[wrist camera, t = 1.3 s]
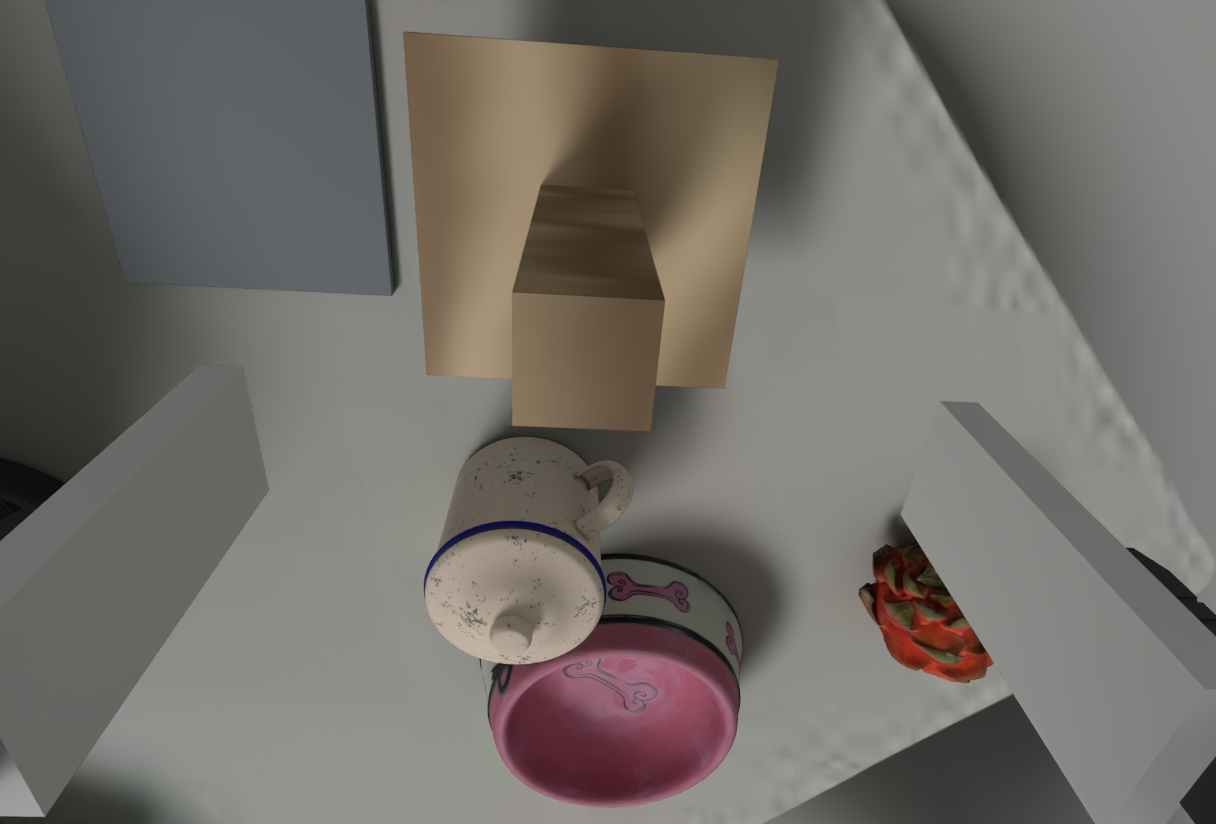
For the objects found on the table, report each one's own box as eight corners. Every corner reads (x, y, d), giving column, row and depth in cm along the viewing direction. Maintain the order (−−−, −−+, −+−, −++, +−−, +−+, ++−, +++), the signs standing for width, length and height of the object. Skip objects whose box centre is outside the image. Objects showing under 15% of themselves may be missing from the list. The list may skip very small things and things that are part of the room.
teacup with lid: (522, 574, 45) (504, 734, 35) (420, 486, 42) (367, 636, 31) (670, 476, 42) (698, 622, 32) (573, 371, 38) (568, 498, 28)
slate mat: (131, 278, 35) (124, 282, 34) (47, -27, 29) (37, -28, 28) (394, 291, 36) (391, 295, 35) (368, -3, 29) (364, -3, 29)
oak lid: (430, 366, 31) (341, 564, 19) (408, 31, 24) (258, 39, 13) (721, 380, 31) (797, 578, 20) (773, 58, 25) (925, 87, 14)
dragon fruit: (861, 491, 45) (946, 568, 51) (804, 610, 43) (900, 676, 49) (992, 520, 38) (1074, 606, 43) (930, 666, 36) (1025, 735, 42)
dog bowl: (603, 503, 43) (607, 581, 37) (795, 642, 49) (824, 727, 44) (428, 660, 49) (407, 748, 43) (618, 765, 56) (623, 854, 50)
